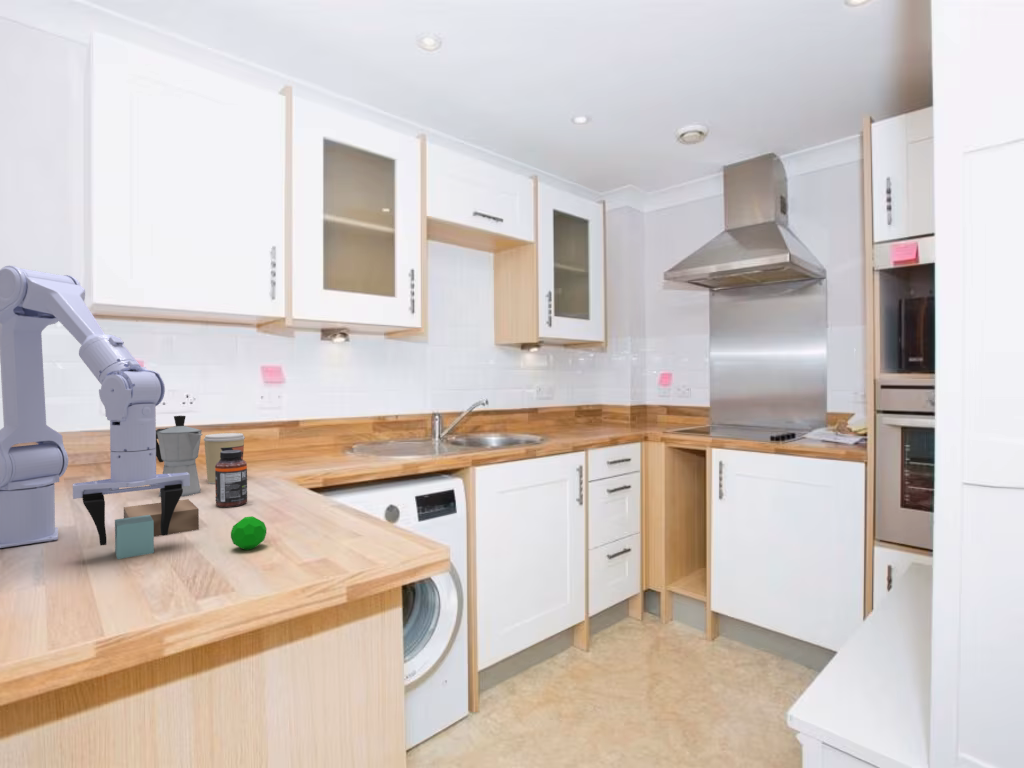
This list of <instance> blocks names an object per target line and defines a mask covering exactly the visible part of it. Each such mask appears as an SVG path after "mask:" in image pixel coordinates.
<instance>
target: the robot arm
mask: <svg viewBox="0 0 1024 768" xmlns="http://www.w3.org/2000/svg"><path fill="white" fill-rule="evenodd" d="M85 299H86V289H85V288H84V287H83V286H82V285H81V283H80V281H79V279H77V278H76V277H75V276H72V275H69V274H68V275H67V274H64V275H63V274H58V273H57V274H56V273H51V272H47V271H46V272H44V271H38V270H33V269H27V268H21V267H18V266H16V265H4V266H3V267H2V268H0V378H1V381H0V382H1V397H2V398H1V401H2V417H3V427H2V428H1V429H0V549H2V548H10V547H17V546H23V545H30V544H38V543H43V542H51V541H56V540H58V539H59V527H56V509H55V508H56V507H55V505H56V503H55V500H56V497H55V484H56V483H59V482H60V478H61V477H62V476H64V474H65V472H66V471H67V470H68V469H67V468H68V467H69V455H68V452H67V450H66V448H65V445H64V441H63V435H62V434H61V433H60V432H58V431H57V430H55V429H53V428H52V427H50V426H49V425H47V414H46V413H47V412H46V397H45V395H46V393H45V380H44V379H45V377H44V374H45V373H44V362H43V361H44V360H43V359H44V358H43V340H42V339H43V338H42V333H43V331H44V330H45V329H46V328H47V327H48V326H51V325H54V324H56V323H58V322H59V323H60V324H61V325H62V326H63V327H64V328H65V330H67V331H68V332H69V334H71V336H72V337H73V338H74V339H75V340H76V341H77V342H78V343H79V344H80V347H79V350H78V356H79V358H80V360H82V362H83V363H84V364H85V365H86V367H87V368H88V369H89V371H90V372H91V373H92V375H93V376H94V377H95V378H96V380H97V381H98V383H99V384H100V389H98V394H99V396H98V397H99V399H100V401H101V403H102V405H103V406H104V409H105V417H106V420H107V421H109V425H110V426H109V441H110V442H109V443H110V444H109V446H110V448H109V450H110V453H109V454H110V458H109V459H110V478H108V479H107V478H106V479H100V480H93V481H84V482H76V483H72V499H73V500H74V499H82V504H83V505H84V507H85V508H86V510H87V512H88V514H89V515H90V517H91V519H92V520H93V523H94V525H95V528H96V530H97V533H98V537H99V545H100V546H106V545H107V532H106V516H105V515H106V501H105V496H104V495H112V494H113V495H114V494H121V493H129V492H130V493H131V492H139V491H147V490H148V491H149V490H155V489H156V490H157V489H159V493H160V492H161V497H160V503H161V526H160V527H161V534H162V535H161V536H168V535H169V534H168V529H169V524H170V521H171V517H172V514H173V512H174V509H175V507H176V505H177V503H178V501H179V500H181V498H182V496H181V495H182V493H183V489H182V486H190V474H189V473H187V472H186V473H173V474H163V473H160V474H159V473H157V457H156V430H157V429H156V428H157V425H156V423H157V422H156V421H157V419H156V417H157V416H156V410H157V409H156V407H157V406H159V404H160V405H161V402H162V401H163V399H164V397H165V392H166V388H165V383H164V380H163V378H162V377H161V375H160V373H159V372H157V371H155V370H154V369H153V370H151V369H147V367H146V366H141V364H140V363H139V362H138V360H137V359H136V358H135V357H134V355H132V353H131V352H130V351H129V349H128V348H127V347H126V346H125V344H124V341H123V340H122V338H121V337H118V336H116V335H113V334H108V333H105V332H104V330H103V329H102V327H101V326H100V324H99V322H98V321H97V320H96V318H95V316H94V315H93V313H92V312H91V310H90V308H89V307H88V306H87V304H86V303H85ZM28 443H36V444H29V445H19V446H17V445H18V444H28ZM160 488H161V489H160Z"/></svg>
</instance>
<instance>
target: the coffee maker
mask: <svg viewBox="0 0 1024 768" xmlns="http://www.w3.org/2000/svg"><path fill="white" fill-rule="evenodd" d="M173 419H174V426H171V427H165V428H158V429H156V460H158V462H159V463H163V464H164V465H163V468H162V469H163V471H162V474H173V473H186V472H187V473H189V474H190V486H182V489H183V493H182V495H181V497H190V496H194V495H197V494H201V486H200V479H199V474H198V469H197V464H196V462H197V461H196V459H198V458H199V452H200V445H201V438H202V436H203V433H202V432H203V431H202V429H198V428H196V427H191V426H186V425H185V423H186V422H185V420H186V415H173ZM160 489H161V488H159V490H160ZM193 494H194V495H193ZM189 495H190V496H189ZM158 497H160V498H161V492H160V491H159V493H158Z"/></svg>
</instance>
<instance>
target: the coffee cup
mask: <svg viewBox="0 0 1024 768" xmlns="http://www.w3.org/2000/svg"><path fill="white" fill-rule="evenodd" d="M245 438H246V437H245V436H244V433H242V432H241V433H239V432H231V433H230V432H224V433H222V432H221V433H213V434H211V433H210V434H206V435H205V436H204V437H203V442H204V454H205V455H204V456H205V467H206V468H205V469H206V478H207V479H206V480H207V483H208V484H211V485H212V484H213V485H215V465H216V464H217V462H219V461H220V459H221V458H220V452H221V451H226V450H241V451H242V457H241V459H242V460H244V448H245V447H244V446H245Z"/></svg>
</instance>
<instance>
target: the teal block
mask: <svg viewBox="0 0 1024 768" xmlns="http://www.w3.org/2000/svg"><path fill="white" fill-rule="evenodd" d="M154 537H155V536H154V521H153V519H152V517H151V516H150V515H145V516H138V517H130V518H124V517H123V518H115V519H114V552H115V556H116V559H117V560H120V559H121V560H122V559H126V558H131V557H132V558H133V557H140V556H144V555H150V554H154V553H155V547H154V546H155V545H154V544H155V541H154V540H155V538H154Z"/></svg>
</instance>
